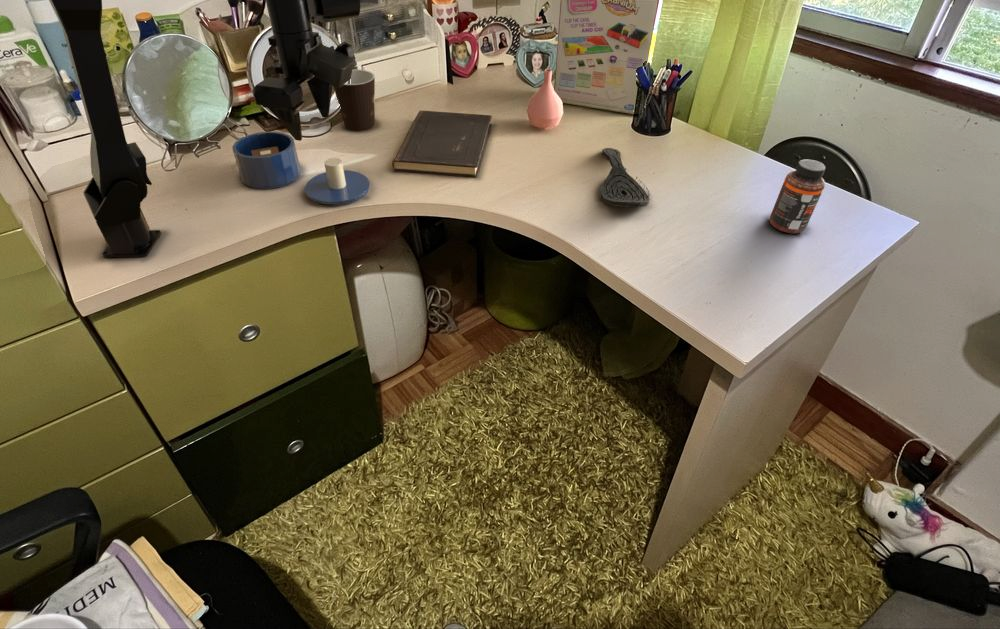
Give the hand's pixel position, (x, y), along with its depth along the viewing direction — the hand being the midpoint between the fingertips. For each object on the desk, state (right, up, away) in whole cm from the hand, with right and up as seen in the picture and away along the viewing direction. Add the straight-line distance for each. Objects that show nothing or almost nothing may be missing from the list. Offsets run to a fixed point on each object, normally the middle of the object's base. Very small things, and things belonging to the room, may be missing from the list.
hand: (312, 128), depth 97 cm
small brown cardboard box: (-11, -5, +10) cm, 15 cm away
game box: (+54, +18, +38) cm, 68 cm away
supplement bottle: (+80, -16, +2) cm, 82 cm away
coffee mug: (+2, +10, +28) cm, 30 cm away
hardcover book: (+20, +3, +20) cm, 29 cm away
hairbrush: (+53, -7, +11) cm, 55 cm away
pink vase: (+41, +9, +28) cm, 51 cm away
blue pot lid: (+3, -9, +6) cm, 11 cm away
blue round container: (-11, -5, +10) cm, 16 cm away
